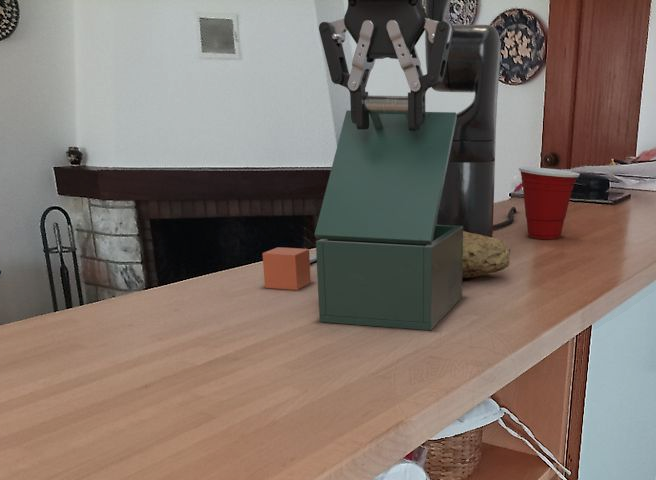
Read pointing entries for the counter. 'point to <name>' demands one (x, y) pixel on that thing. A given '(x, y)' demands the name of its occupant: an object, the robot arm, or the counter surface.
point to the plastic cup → (546, 200)
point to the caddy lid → (387, 176)
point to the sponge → (483, 255)
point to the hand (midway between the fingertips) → (388, 128)
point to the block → (286, 268)
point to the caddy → (390, 280)
